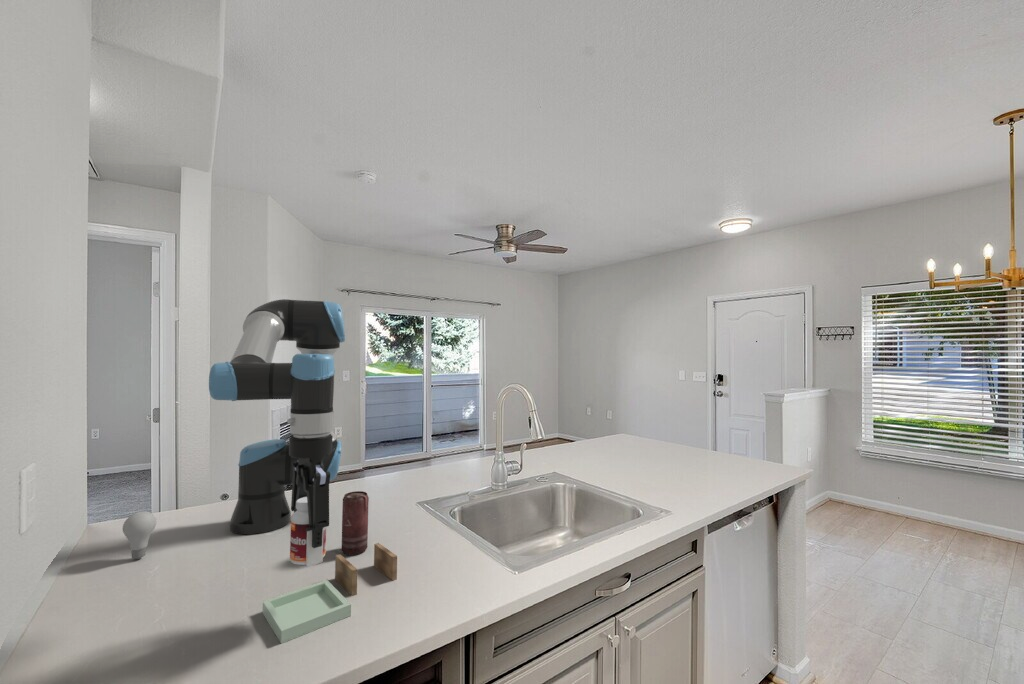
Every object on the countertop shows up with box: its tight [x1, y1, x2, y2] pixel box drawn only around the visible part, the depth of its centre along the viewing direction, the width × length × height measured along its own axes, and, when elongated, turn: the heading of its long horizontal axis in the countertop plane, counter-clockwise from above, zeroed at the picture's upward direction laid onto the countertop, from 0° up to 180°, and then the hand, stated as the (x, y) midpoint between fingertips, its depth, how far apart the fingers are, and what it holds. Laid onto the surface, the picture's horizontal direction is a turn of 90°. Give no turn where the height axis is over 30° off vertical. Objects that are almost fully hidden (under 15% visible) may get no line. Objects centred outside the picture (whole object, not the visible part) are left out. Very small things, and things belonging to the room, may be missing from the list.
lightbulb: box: [122, 510, 157, 560], centre depth 104 cm, size 6×6×11 cm
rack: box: [334, 542, 398, 596], centre depth 96 cm, size 9×10×5 cm
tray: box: [262, 579, 352, 644], centre depth 83 cm, size 12×12×2 cm
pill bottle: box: [289, 497, 327, 566], centre depth 83 cm, size 6×6×11 cm
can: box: [340, 490, 370, 557], centre depth 110 cm, size 6×6×14 cm
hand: (308, 556), depth 83 cm, fingers closed on pill bottle, 6 cm apart
